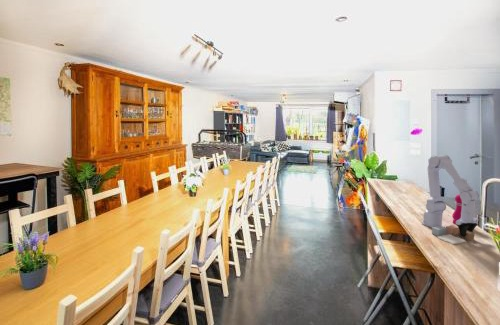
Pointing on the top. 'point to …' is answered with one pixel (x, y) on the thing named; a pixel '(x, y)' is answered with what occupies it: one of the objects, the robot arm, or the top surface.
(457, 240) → the grey tile
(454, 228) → the terracotta block
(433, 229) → the slate block
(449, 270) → the top surface
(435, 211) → the robot arm
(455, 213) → the pepper mill
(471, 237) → the walnut block
